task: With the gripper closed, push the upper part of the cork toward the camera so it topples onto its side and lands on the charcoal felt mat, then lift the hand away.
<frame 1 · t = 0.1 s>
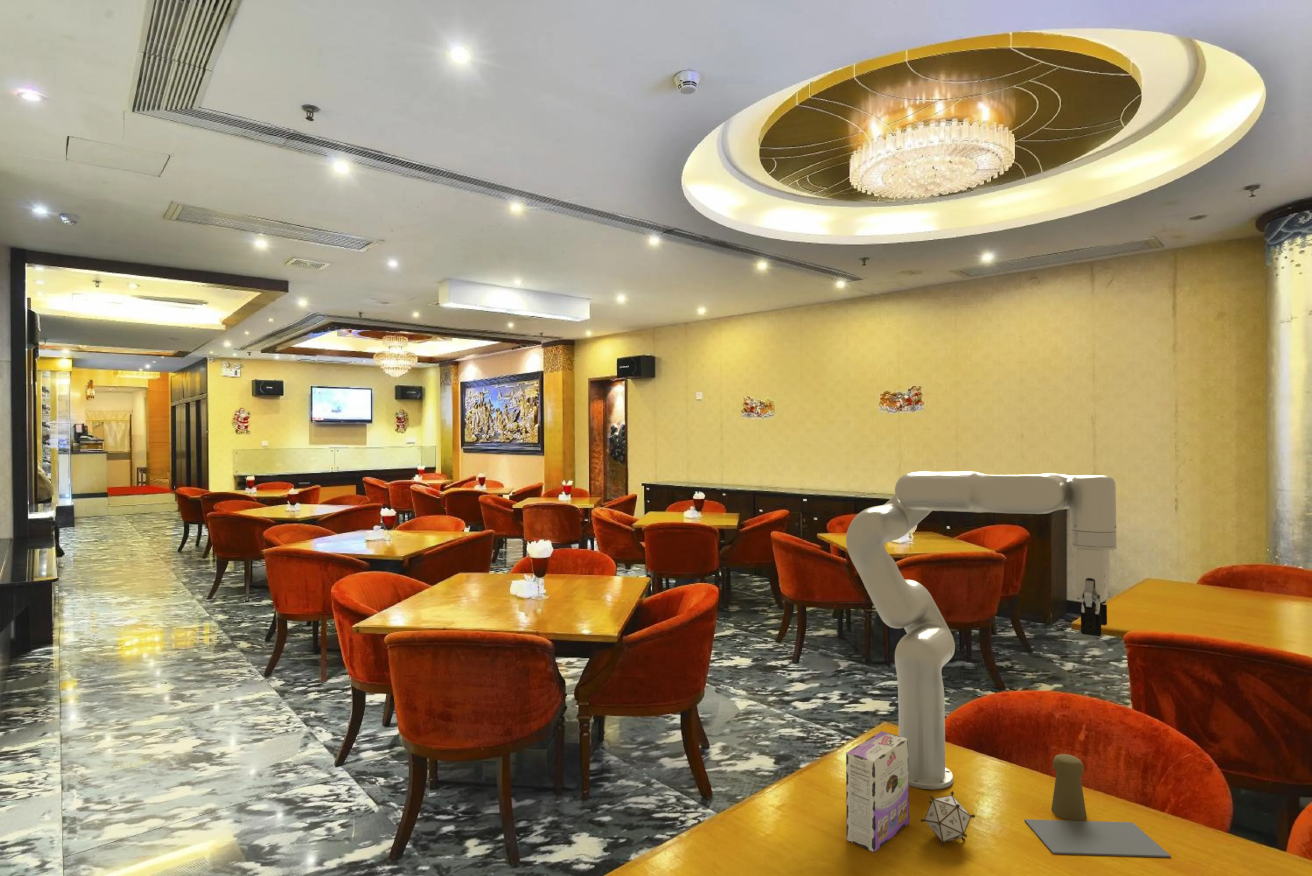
hand: (1094, 629, 135), 37 cm above the table, tool pointing down, fingers open, 9 cm apart
game die: (947, 841, 130), on the table
cork: (1068, 814, 139), on the table
candy box: (878, 833, 132), on the table
felt mat: (1094, 838, 130), on the table
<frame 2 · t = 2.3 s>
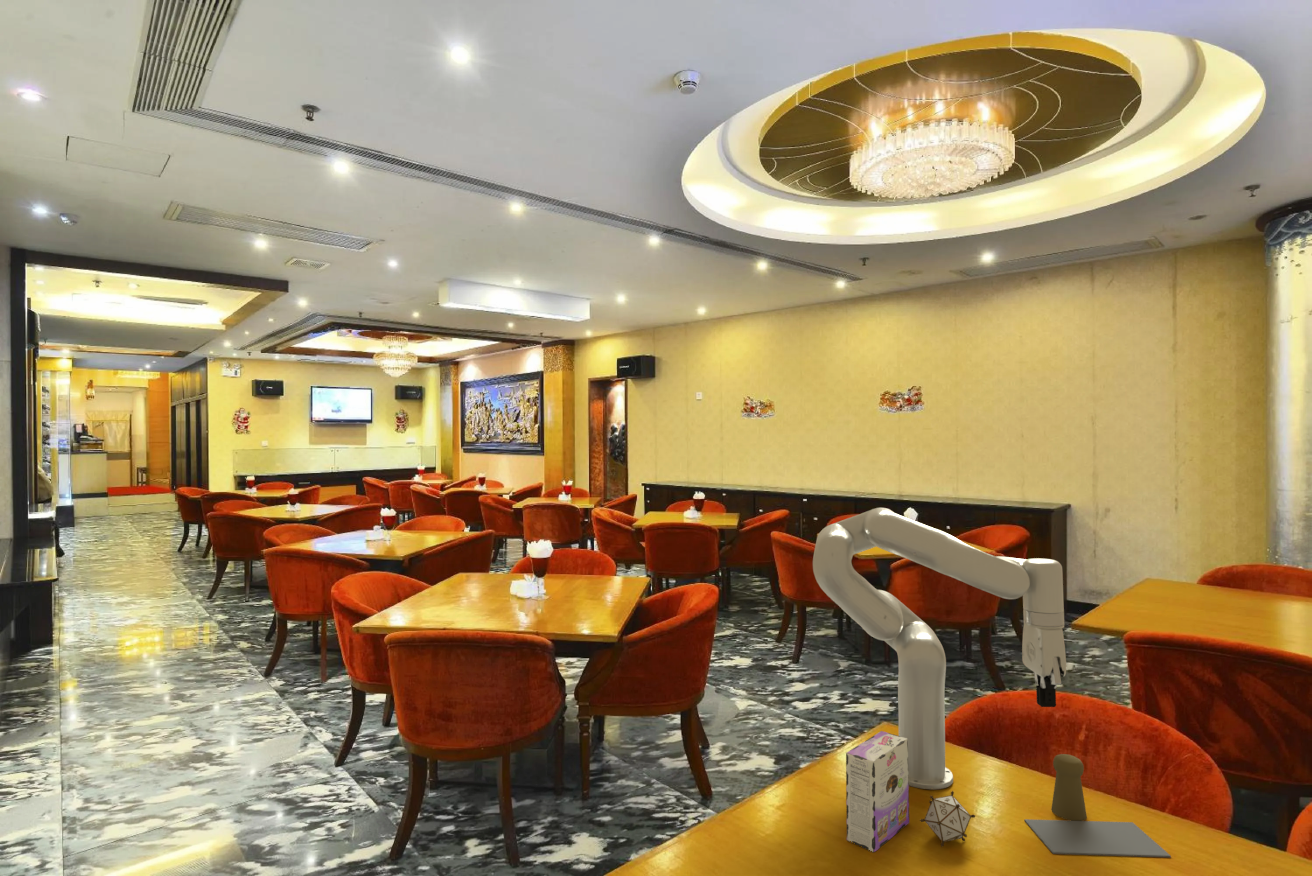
hand: (1046, 705, 149), 18 cm above the table, tool pointing down, fingers closed
nothing on the table moved.
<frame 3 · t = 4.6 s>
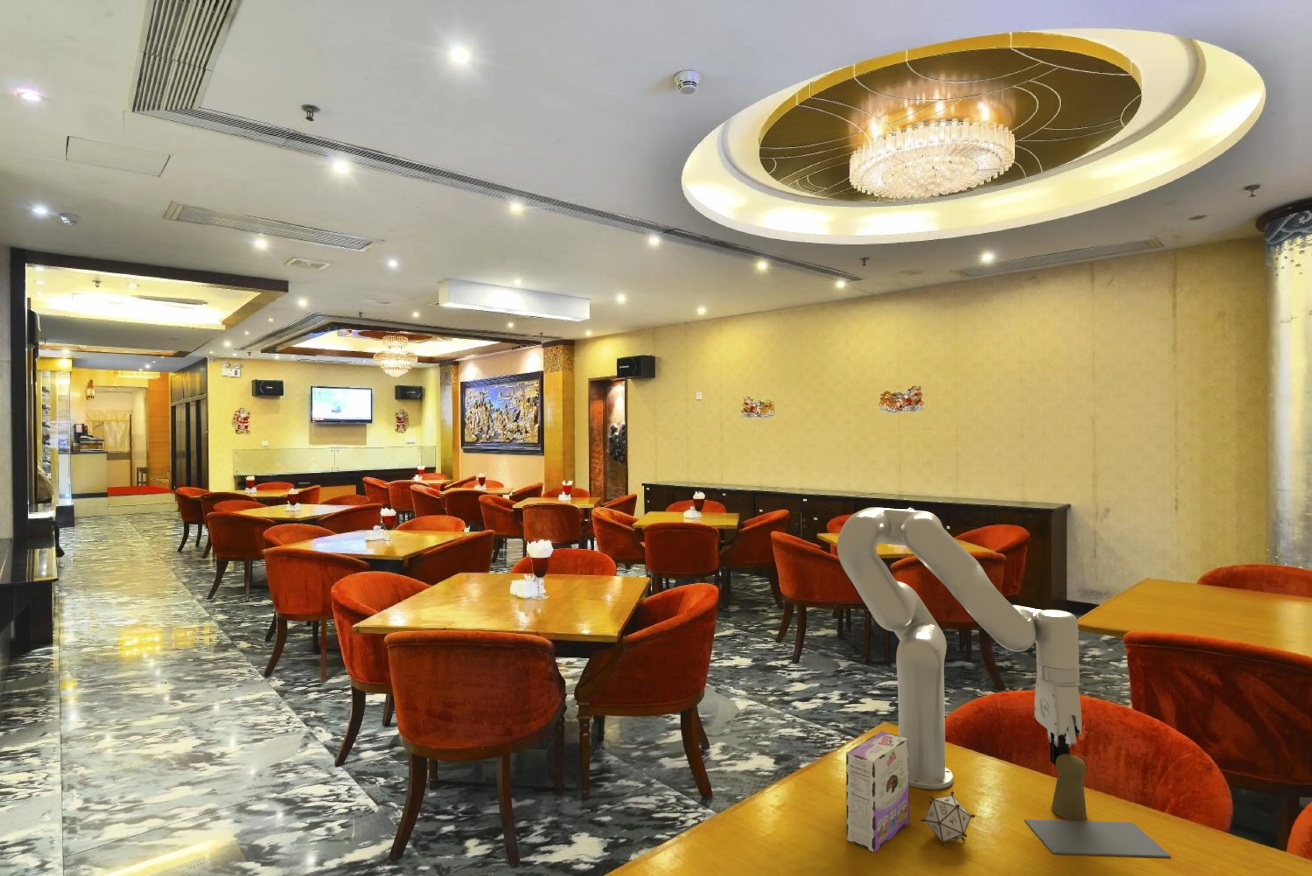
hand: (1060, 764, 143), 8 cm above the table, tool pointing down, fingers closed
cork: (1068, 813, 139), on the table, touching gripper
everything else where it was.
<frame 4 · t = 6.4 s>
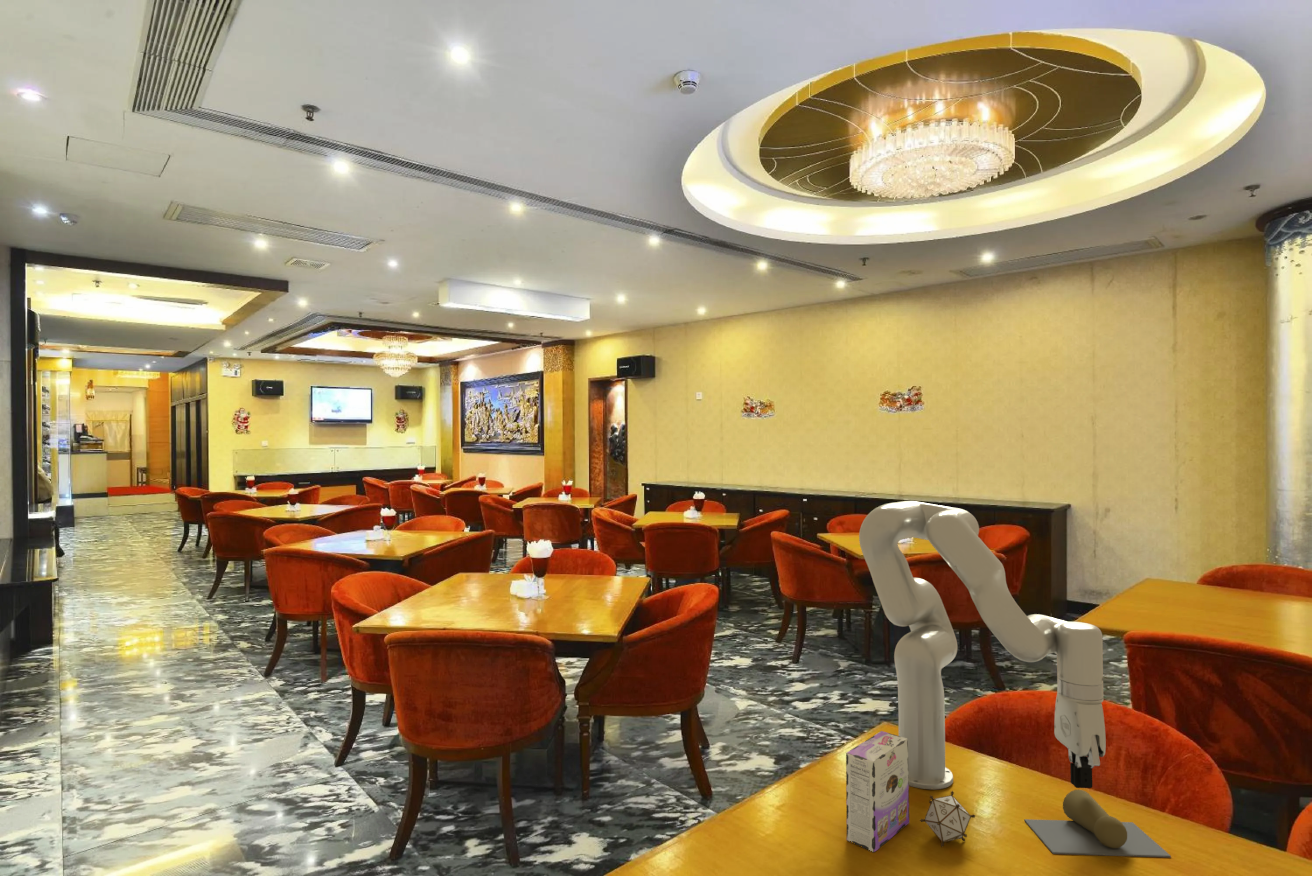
hand: (1081, 785, 134), 8 cm above the table, tool pointing down, fingers closed
cork: (1077, 804, 136), point 3 cm above the table, touching felt mat
everything else where it was.
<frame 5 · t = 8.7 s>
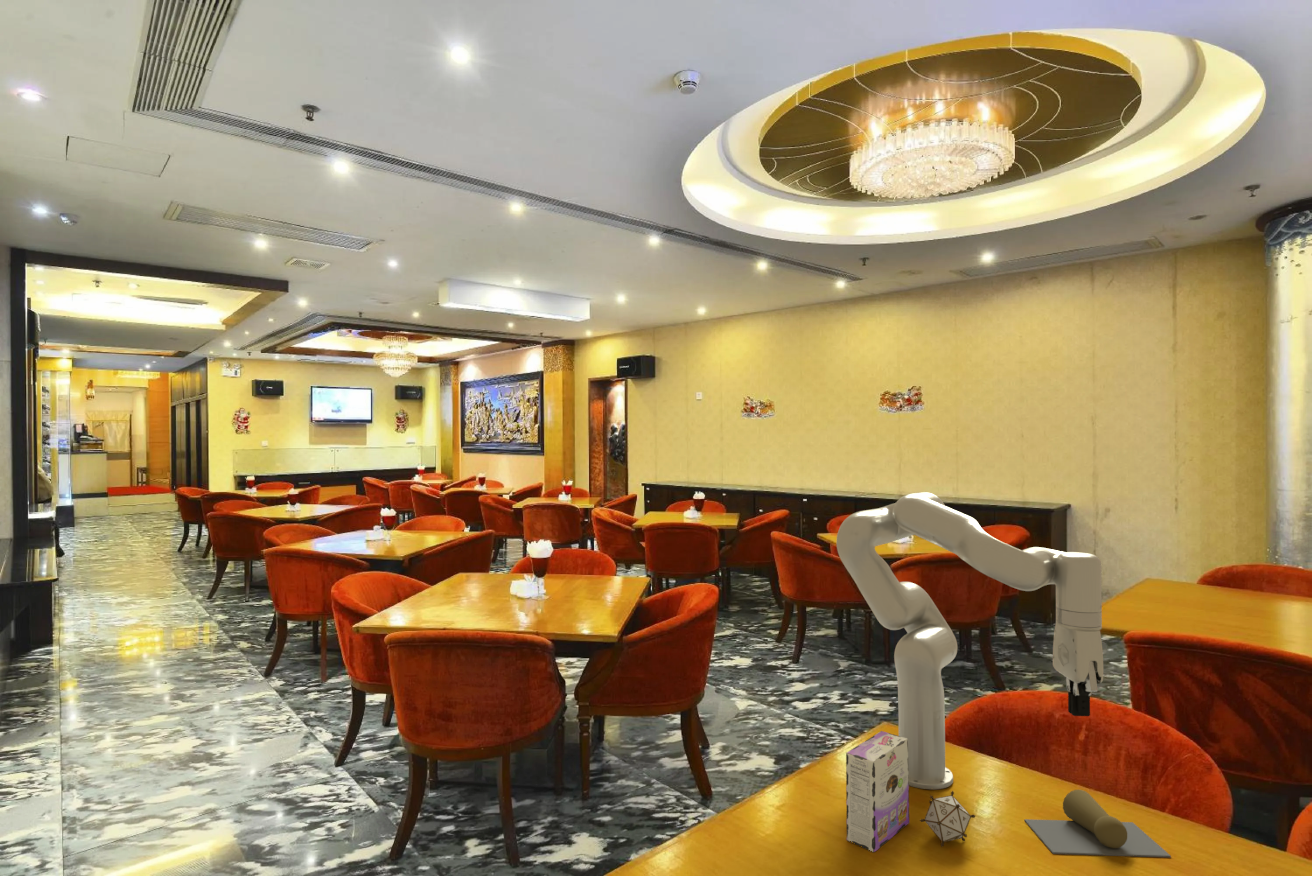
hand: (1079, 714, 134), 21 cm above the table, tool pointing down, fingers closed
nothing on the table moved.
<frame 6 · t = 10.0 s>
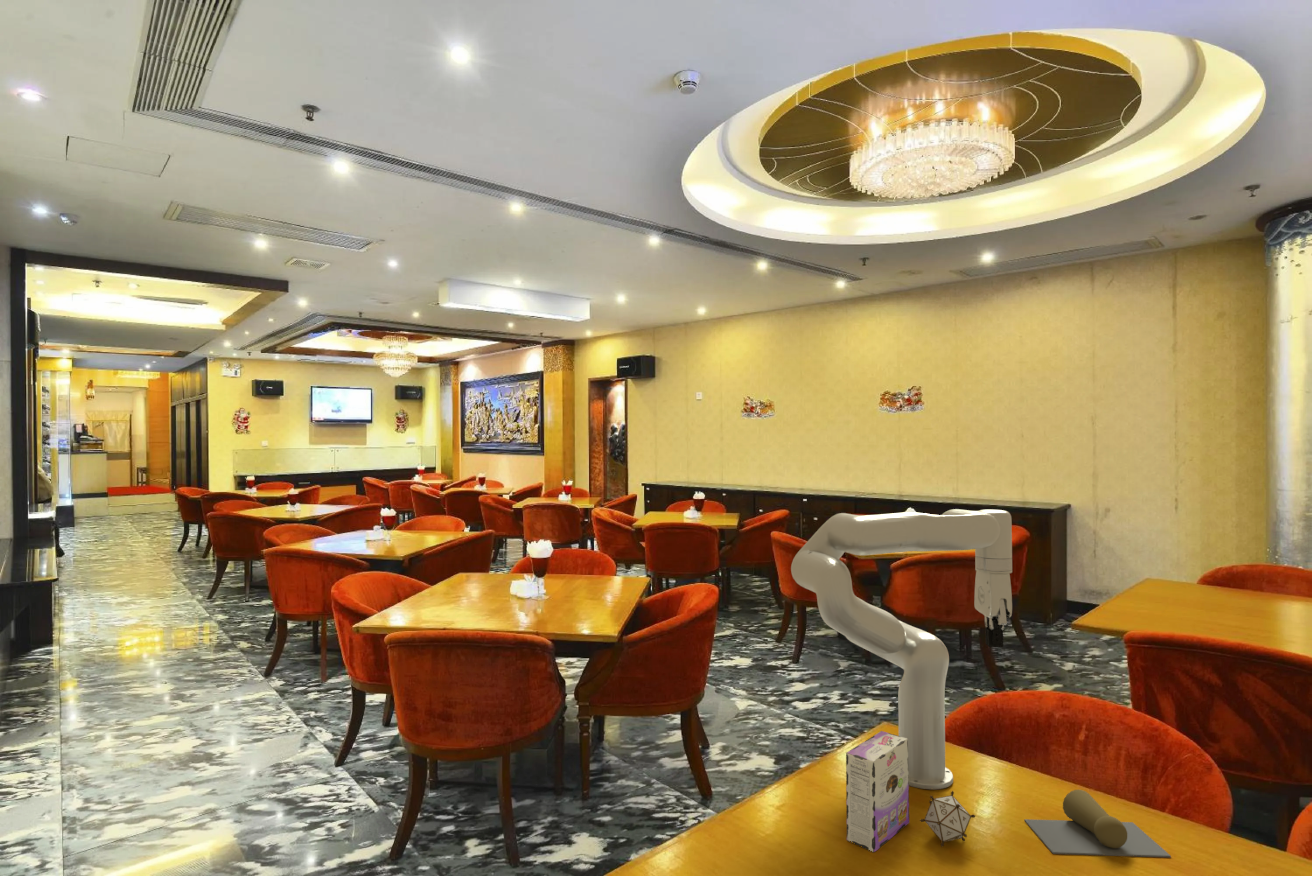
hand: (994, 645, 159), 27 cm above the table, tool pointing down, fingers closed
nothing on the table moved.
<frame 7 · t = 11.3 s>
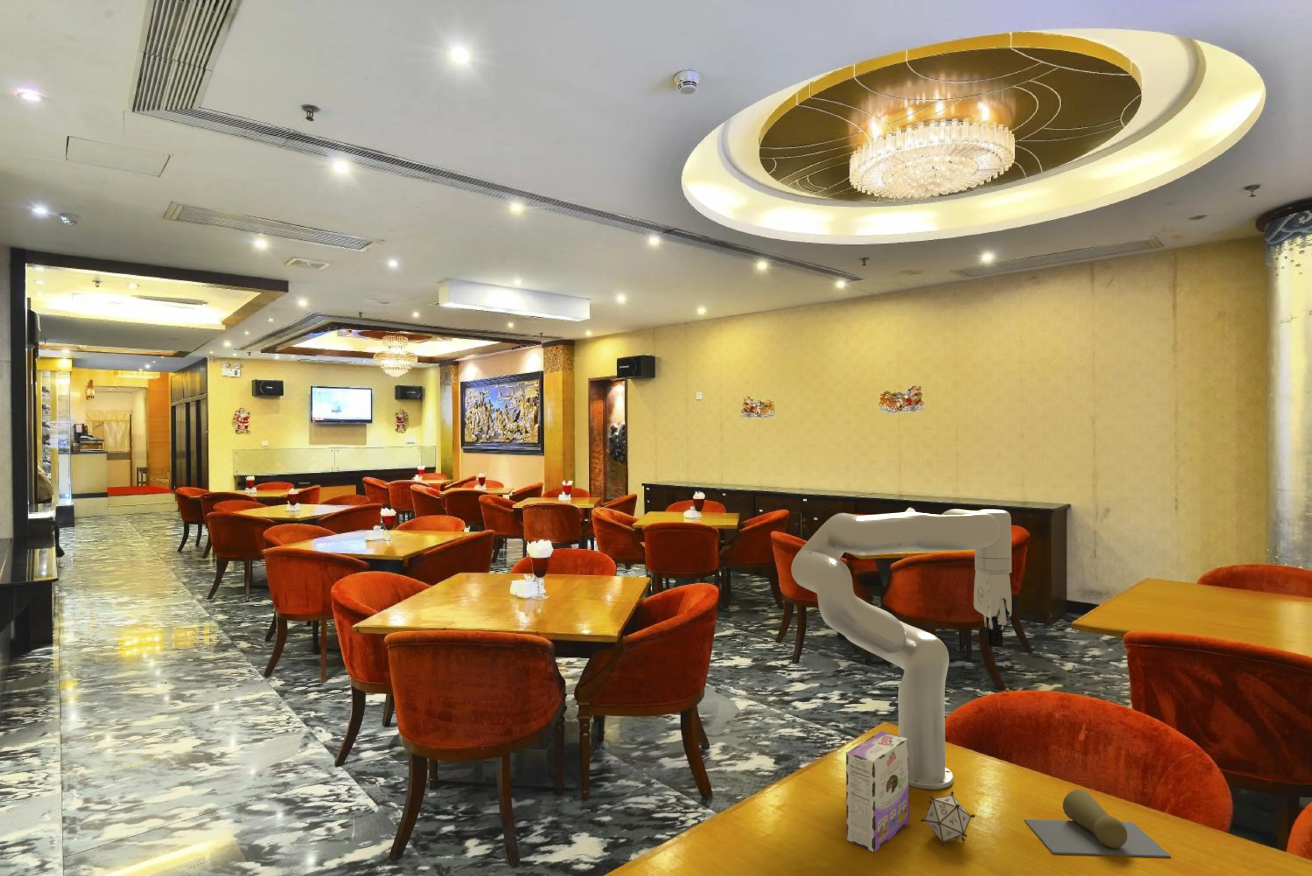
hand: (993, 645, 159), 27 cm above the table, tool pointing down, fingers closed
nothing on the table moved.
at the end: cork tilted 91°; cork inside the target area (0.9 cm from its centre), point 3.0 cm above the table; cork touching felt mat, table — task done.
